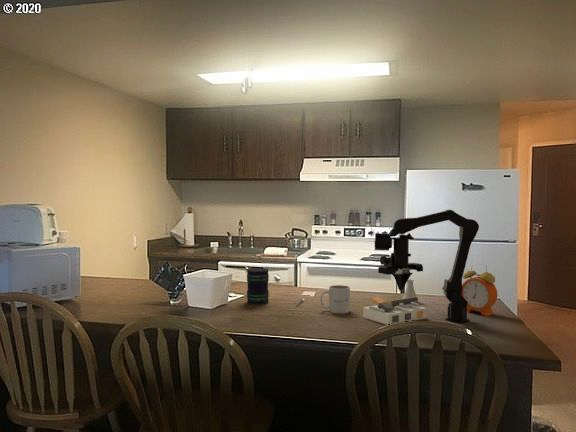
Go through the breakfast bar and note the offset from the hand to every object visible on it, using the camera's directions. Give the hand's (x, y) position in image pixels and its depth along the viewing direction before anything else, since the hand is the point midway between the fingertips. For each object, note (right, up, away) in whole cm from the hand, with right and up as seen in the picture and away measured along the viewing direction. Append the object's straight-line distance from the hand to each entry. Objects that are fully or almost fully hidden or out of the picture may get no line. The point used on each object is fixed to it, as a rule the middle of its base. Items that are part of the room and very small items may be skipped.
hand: (400, 290), depth 185 cm
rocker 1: (-8, -7, -2) cm, 10 cm away
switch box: (-2, -11, +1) cm, 11 cm away
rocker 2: (-2, -6, +1) cm, 7 cm away
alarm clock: (+34, -11, +10) cm, 37 cm away
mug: (-24, -11, +13) cm, 30 cm away
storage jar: (-58, -10, +29) cm, 65 cm away
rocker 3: (+4, -6, +4) cm, 8 cm away
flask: (+12, -10, +31) cm, 35 cm away
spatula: (-37, -11, +35) cm, 52 cm away
